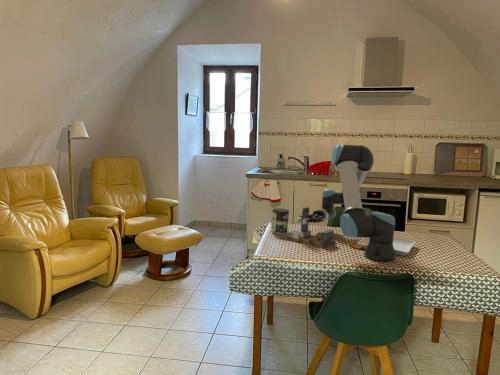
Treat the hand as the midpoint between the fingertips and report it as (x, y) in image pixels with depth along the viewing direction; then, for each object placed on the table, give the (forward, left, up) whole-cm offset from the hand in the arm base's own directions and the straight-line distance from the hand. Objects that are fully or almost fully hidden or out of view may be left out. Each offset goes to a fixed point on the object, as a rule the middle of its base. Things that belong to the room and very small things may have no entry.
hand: (300, 221), depth 225 cm
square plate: (-17, -47, -13) cm, 51 cm away
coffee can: (+22, +4, -12) cm, 26 cm away
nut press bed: (+1, -6, -12) cm, 13 cm away
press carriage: (+3, -4, -10) cm, 11 cm away
